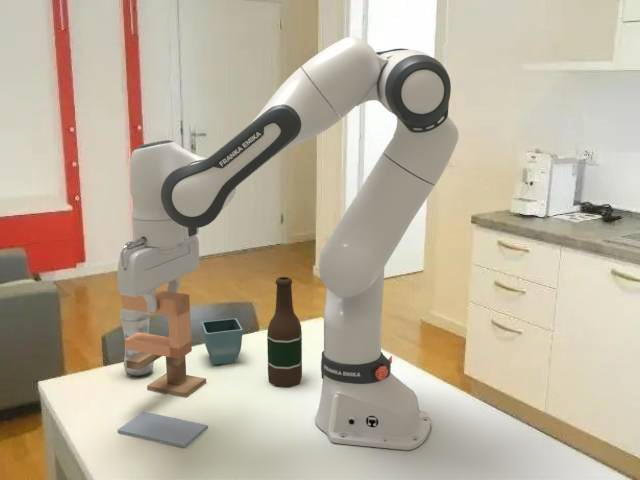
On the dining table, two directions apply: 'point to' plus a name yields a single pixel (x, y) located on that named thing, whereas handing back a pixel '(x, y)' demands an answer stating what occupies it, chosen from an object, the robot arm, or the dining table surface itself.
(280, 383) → the beer bottle
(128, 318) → the plastic bottle
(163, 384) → the brown wooden angular piece
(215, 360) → the flower pot
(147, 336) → the c link
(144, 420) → the felt mat
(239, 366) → the dining table surface
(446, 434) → the dining table surface
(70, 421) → the dining table surface
